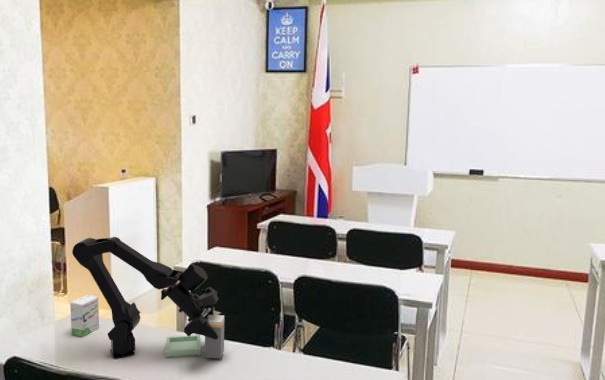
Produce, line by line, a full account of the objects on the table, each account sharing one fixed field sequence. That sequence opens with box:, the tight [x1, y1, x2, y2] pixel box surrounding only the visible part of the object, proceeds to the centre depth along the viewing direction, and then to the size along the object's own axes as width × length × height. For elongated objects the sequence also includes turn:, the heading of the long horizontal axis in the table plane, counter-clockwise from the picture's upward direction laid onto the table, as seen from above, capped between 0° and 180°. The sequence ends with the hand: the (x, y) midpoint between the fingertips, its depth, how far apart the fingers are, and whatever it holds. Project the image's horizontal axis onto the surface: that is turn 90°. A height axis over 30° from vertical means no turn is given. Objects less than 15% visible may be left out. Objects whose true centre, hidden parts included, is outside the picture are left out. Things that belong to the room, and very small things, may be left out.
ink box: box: [69, 294, 100, 338], centre depth 177 cm, size 8×5×12 cm, turn 162°
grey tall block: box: [204, 314, 225, 359], centre depth 161 cm, size 5×5×12 cm
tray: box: [164, 334, 202, 359], centre depth 167 cm, size 11×11×2 cm
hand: (219, 334), depth 161 cm, fingers closed on grey tall block, 5 cm apart
